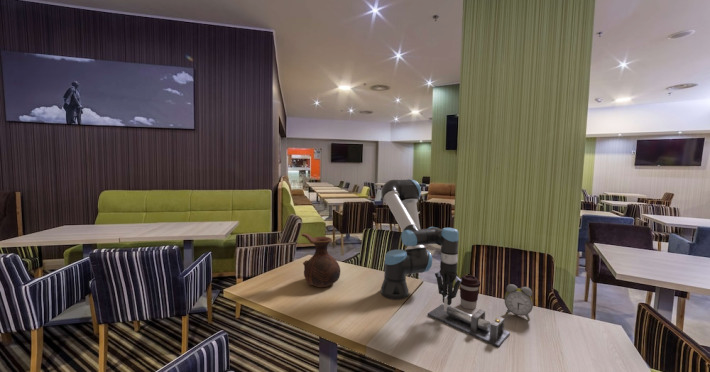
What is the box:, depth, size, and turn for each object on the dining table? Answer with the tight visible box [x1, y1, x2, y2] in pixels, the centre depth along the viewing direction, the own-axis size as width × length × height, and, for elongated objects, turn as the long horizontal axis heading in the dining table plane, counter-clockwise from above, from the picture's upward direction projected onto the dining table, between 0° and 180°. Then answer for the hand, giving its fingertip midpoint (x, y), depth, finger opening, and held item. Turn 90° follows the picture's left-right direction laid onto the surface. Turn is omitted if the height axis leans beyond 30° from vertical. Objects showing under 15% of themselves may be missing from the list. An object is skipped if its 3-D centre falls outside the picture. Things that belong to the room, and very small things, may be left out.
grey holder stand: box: [427, 304, 511, 348], centre depth 130 cm, size 32×13×8 cm, turn 44°
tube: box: [447, 305, 491, 332], centre depth 130 cm, size 18×4×4 cm, turn 44°
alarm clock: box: [504, 283, 534, 321], centre depth 138 cm, size 12×7×15 cm, turn 62°
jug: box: [301, 232, 341, 288], centre depth 170 cm, size 22×22×30 cm
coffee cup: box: [459, 274, 481, 310], centre depth 147 cm, size 10×10×15 cm
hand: (446, 310), depth 137 cm, fingers closed
